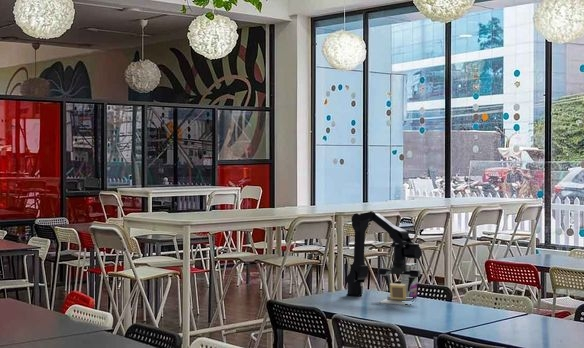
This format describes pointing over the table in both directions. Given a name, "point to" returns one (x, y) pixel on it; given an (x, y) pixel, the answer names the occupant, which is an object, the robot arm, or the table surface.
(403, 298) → the tile
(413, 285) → the candy bar box
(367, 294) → the table surface
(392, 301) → the mat
